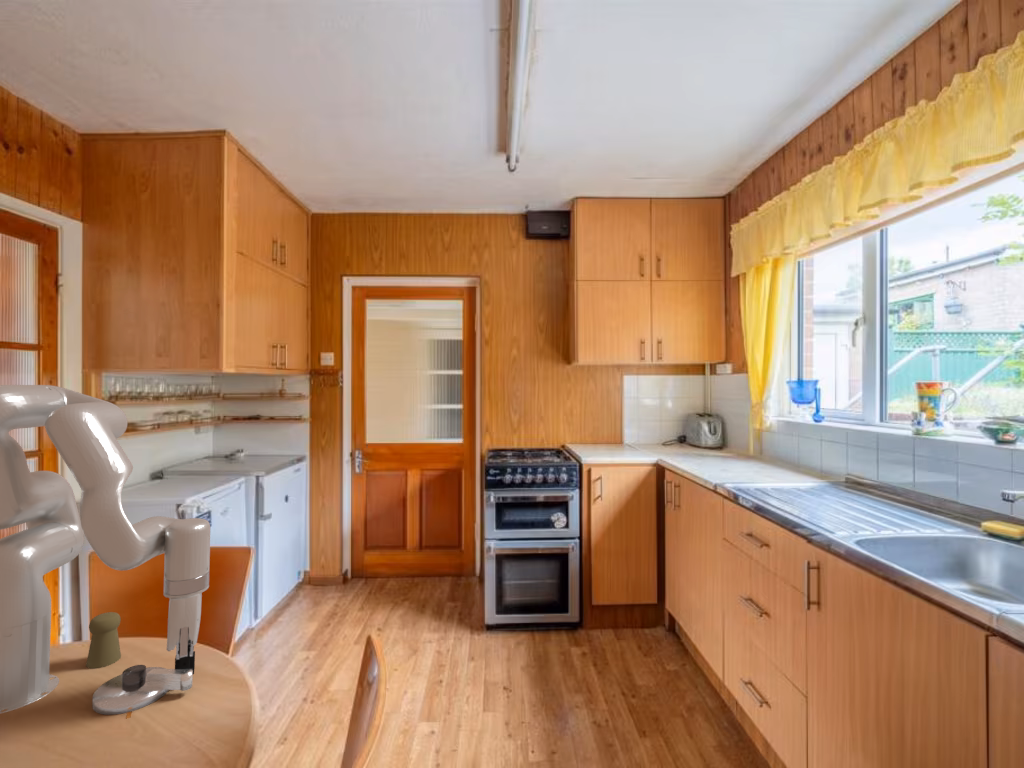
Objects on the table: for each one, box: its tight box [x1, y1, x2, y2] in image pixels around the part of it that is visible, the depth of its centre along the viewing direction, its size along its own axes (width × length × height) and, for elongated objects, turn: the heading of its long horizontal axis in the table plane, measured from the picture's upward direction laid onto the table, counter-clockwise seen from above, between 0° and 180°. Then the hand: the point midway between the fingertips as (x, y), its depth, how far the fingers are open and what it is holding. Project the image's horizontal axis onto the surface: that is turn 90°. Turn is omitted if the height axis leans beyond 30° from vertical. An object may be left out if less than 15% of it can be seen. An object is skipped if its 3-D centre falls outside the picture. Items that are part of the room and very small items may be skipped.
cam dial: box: [92, 664, 194, 716], centre depth 93 cm, size 17×12×4 cm
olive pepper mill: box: [86, 611, 122, 670], centre depth 104 cm, size 6×6×11 cm
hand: (184, 674), depth 96 cm, fingers closed
